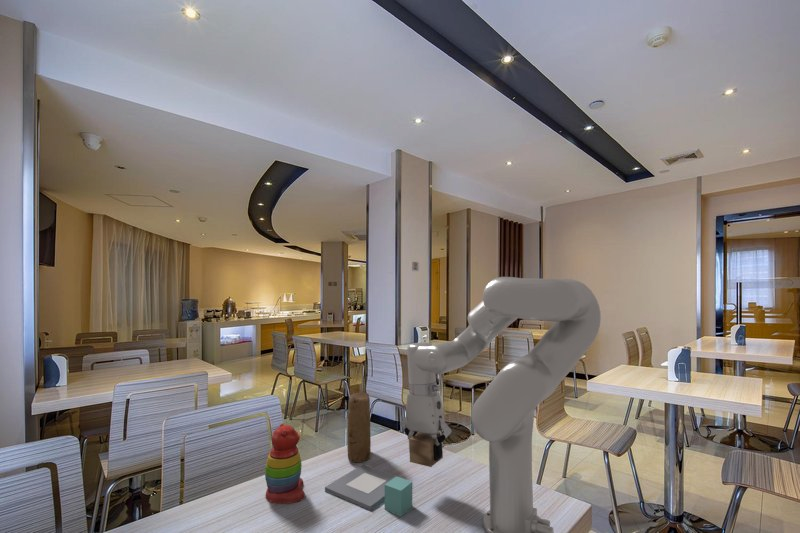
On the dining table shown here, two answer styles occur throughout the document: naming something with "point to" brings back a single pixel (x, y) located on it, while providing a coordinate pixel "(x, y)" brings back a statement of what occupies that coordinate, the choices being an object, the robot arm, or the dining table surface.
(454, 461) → the dining table surface
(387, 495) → the teal block
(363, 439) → the brown rounded lumpy part
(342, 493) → the plate
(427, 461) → the walnut cube
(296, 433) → the stacking bear
